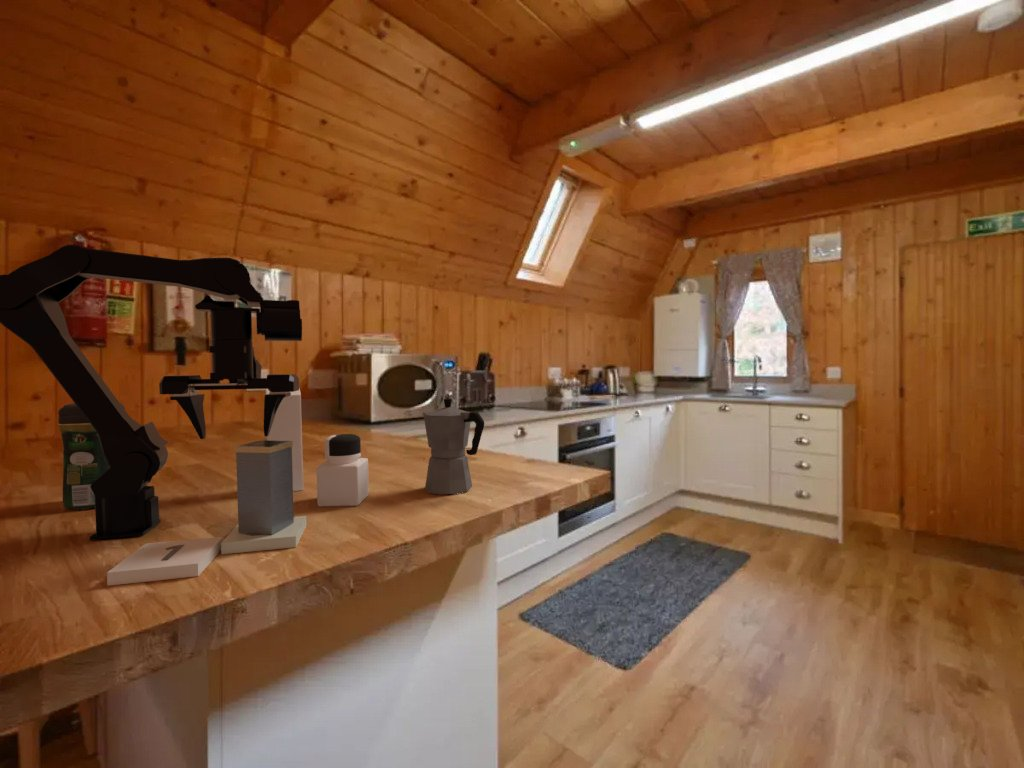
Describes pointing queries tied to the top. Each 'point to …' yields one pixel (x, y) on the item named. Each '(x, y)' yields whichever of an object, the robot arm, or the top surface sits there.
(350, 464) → the medicine bottle
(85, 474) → the coffee jar
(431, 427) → the coffeepot
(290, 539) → the tile
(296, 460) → the milk
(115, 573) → the tile
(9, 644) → the top surface
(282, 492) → the tea tin
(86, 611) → the top surface
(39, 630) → the top surface
